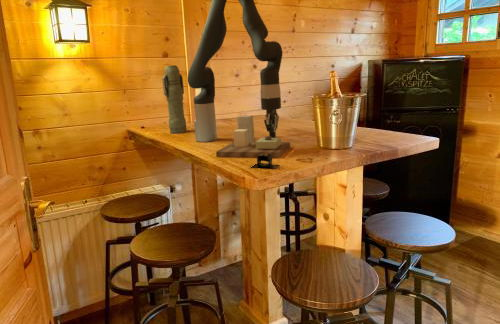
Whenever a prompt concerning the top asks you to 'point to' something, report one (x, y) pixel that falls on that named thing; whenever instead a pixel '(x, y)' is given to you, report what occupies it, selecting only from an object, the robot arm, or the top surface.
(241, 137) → the cream block
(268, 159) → the black stand
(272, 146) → the lid
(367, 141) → the top surface
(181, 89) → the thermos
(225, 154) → the puzzle board
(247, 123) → the skincare box
